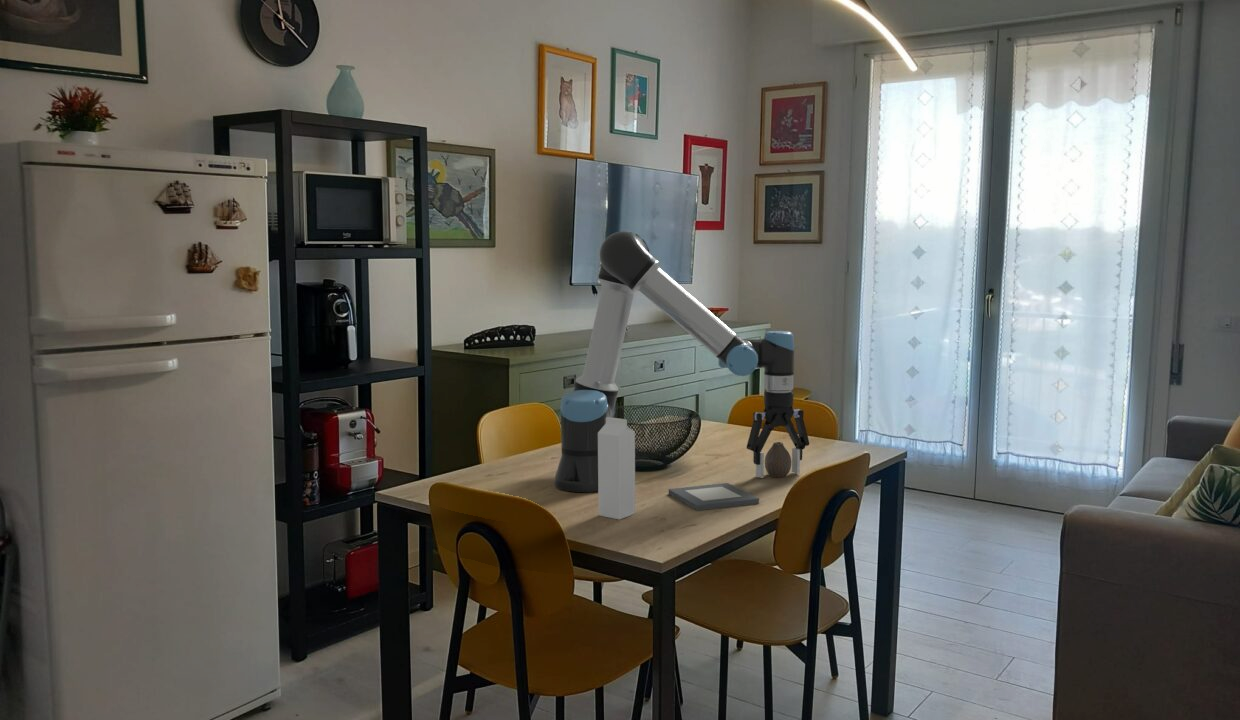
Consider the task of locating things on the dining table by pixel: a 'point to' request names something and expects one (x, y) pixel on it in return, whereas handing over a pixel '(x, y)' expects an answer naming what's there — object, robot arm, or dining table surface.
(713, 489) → the rest mat
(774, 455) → the vase
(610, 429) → the milk
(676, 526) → the dining table surface
